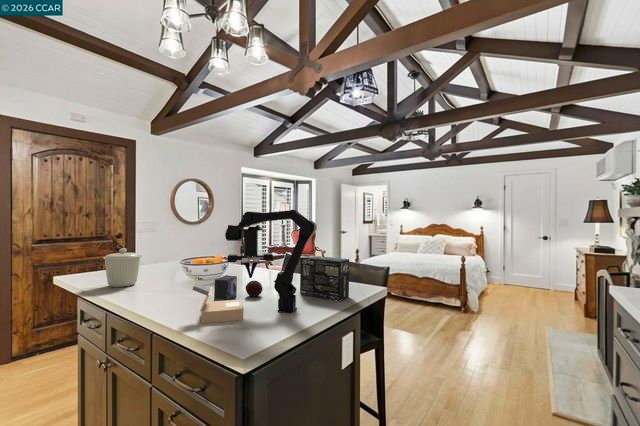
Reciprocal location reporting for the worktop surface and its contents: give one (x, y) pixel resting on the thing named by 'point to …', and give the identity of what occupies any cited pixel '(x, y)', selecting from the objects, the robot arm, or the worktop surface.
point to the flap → (202, 290)
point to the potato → (254, 288)
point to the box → (324, 277)
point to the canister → (122, 268)
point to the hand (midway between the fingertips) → (250, 278)
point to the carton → (222, 311)
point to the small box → (225, 288)
